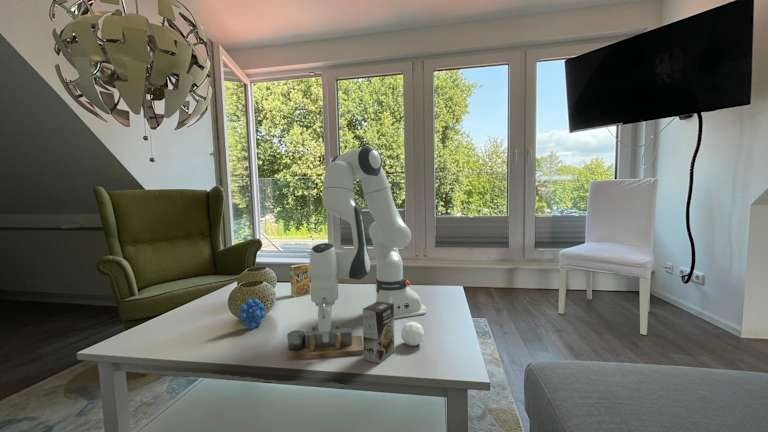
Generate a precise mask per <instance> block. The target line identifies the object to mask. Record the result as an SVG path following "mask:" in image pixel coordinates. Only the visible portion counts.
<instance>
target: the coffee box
mask: <svg viewBox="0 0 768 432" xmlns="http://www.w3.org/2000/svg"><path fill="white" fill-rule="evenodd" d="M362 344H363V354H362V355H363V359H364V360H366V361H370V362H374V363H375V364H376V363H377V364H381V363H382V362H384V361H385V360H386V359H388V357H390V356H391V355H392V354H394V353H395V319H394V304H392V303H386V302H379V301H377V302H376V301H375V302H374V303H372V304H369V305H368V306H365V307H364V308H362Z"/></svg>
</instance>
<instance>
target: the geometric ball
mask: <svg viewBox="0 0 768 432" xmlns="http://www.w3.org/2000/svg"><path fill="white" fill-rule="evenodd" d="M400 334H401V335H400V336H401V339H402V340H403V342H404V343H405V344H406V345H408V346H412V347H416V346H418V345H419V344H421V343H423V339H424V337H425V330H424V327H423V326H422V325H421V324H420V323H418V322H416V321H409V322H407V323H405V324H404V325H403V326H402V329H401V333H400Z"/></svg>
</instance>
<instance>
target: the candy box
mask: <svg viewBox="0 0 768 432" xmlns="http://www.w3.org/2000/svg"><path fill="white" fill-rule="evenodd" d="M289 273H290V274H289V276H290V290H291V292H290V293H291V296H292V297H293V298H297V297H302V296H306V295H307V296H308V295H311V275H310V263H301V264H300V263H299V264H294V265H289Z"/></svg>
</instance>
